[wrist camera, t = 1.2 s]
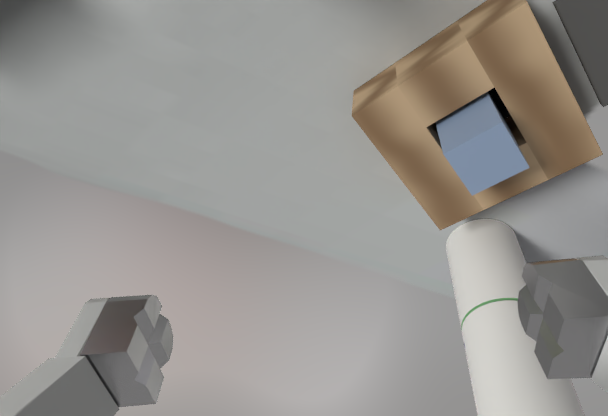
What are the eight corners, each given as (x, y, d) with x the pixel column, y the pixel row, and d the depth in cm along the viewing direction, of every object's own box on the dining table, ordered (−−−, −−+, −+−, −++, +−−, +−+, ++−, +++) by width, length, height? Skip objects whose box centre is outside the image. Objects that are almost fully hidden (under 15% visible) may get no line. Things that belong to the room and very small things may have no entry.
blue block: (478, 73, 38) (502, 121, 31) (501, 113, 40) (529, 167, 33) (430, 102, 40) (443, 154, 33) (455, 139, 42) (472, 195, 35)
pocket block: (509, -15, 34) (527, 1, 30) (580, 125, 40) (602, 154, 36) (353, 90, 40) (351, 115, 36) (434, 198, 46) (440, 230, 42)
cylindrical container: (454, 274, 52) (504, 529, 32) (438, 228, 48) (484, 483, 29) (521, 261, 50) (620, 526, 30) (510, 211, 46) (615, 476, 26)
